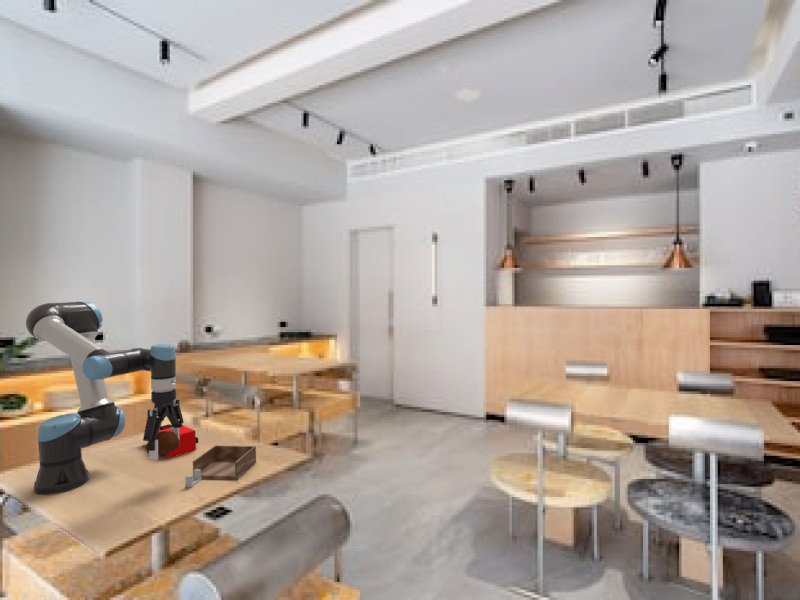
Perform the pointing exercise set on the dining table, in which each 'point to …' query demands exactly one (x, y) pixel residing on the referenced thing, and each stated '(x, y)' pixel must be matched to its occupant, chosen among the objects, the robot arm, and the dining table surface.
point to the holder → (225, 462)
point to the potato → (166, 442)
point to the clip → (190, 481)
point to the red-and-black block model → (182, 440)
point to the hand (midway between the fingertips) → (164, 452)
